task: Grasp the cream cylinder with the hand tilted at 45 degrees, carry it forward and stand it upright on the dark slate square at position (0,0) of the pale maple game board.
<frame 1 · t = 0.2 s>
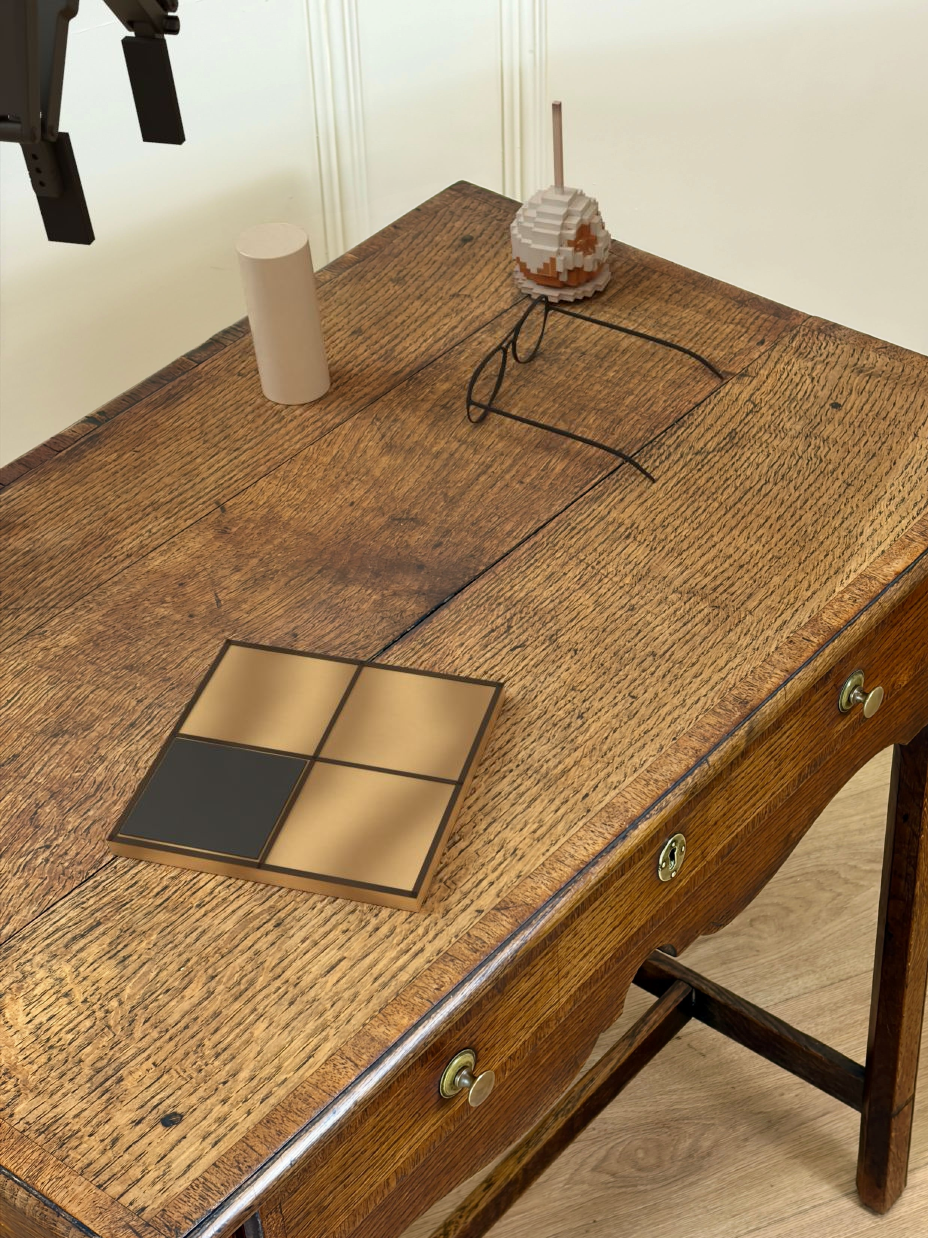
hand: (120, 189, 99), 21 cm above the table, tool pointing down, fingers open, 13 cm apart
board: (317, 773, 92), on the table
caramel apple: (562, 285, 131), on the table
glasses: (596, 409, 118), on the table
cream cylinder: (296, 386, 121), on the table
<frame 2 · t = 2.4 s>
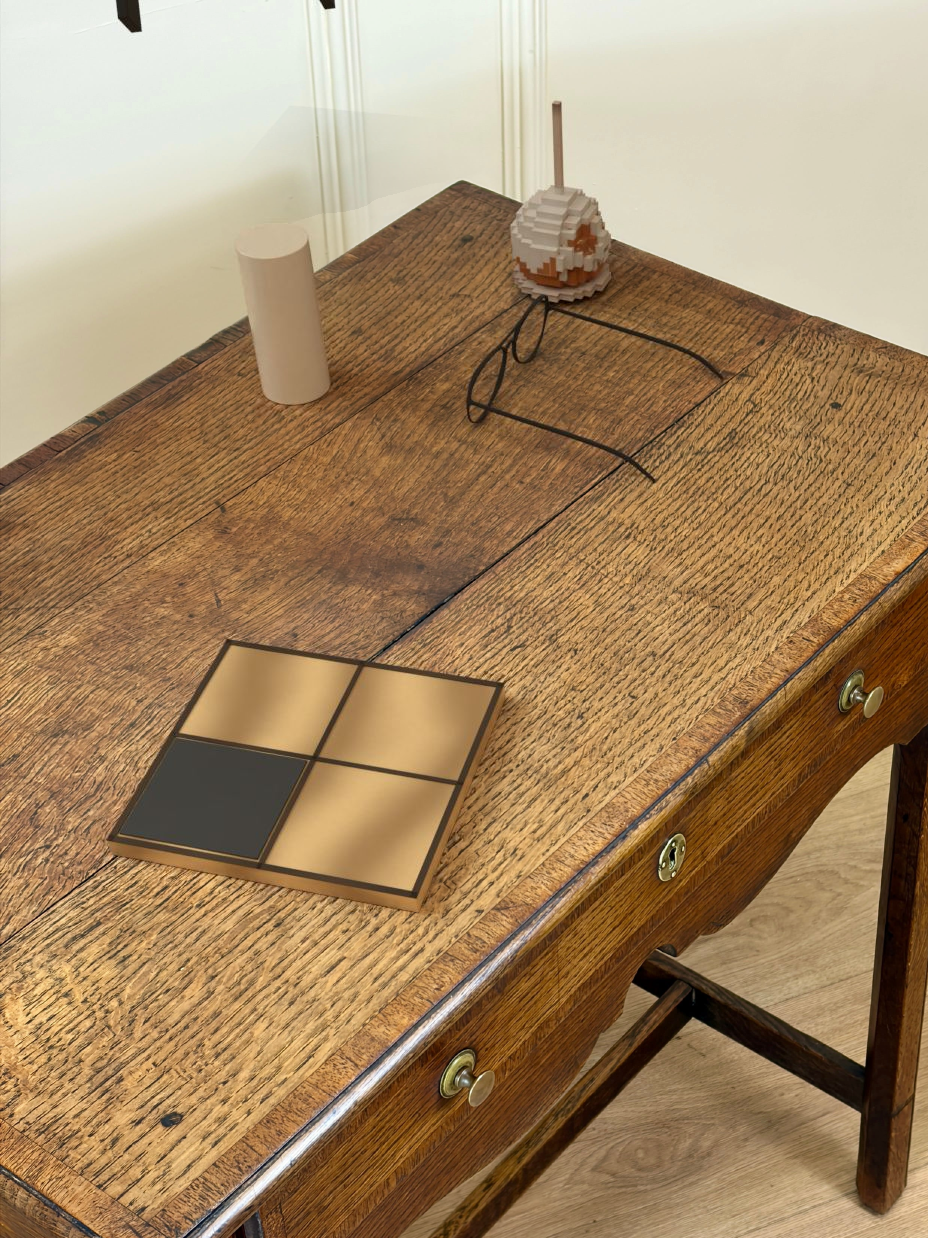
hand: (227, 14, 108), 25 cm above the table, tool tilted 40°, fingers open, 13 cm apart
nothing on the table moved.
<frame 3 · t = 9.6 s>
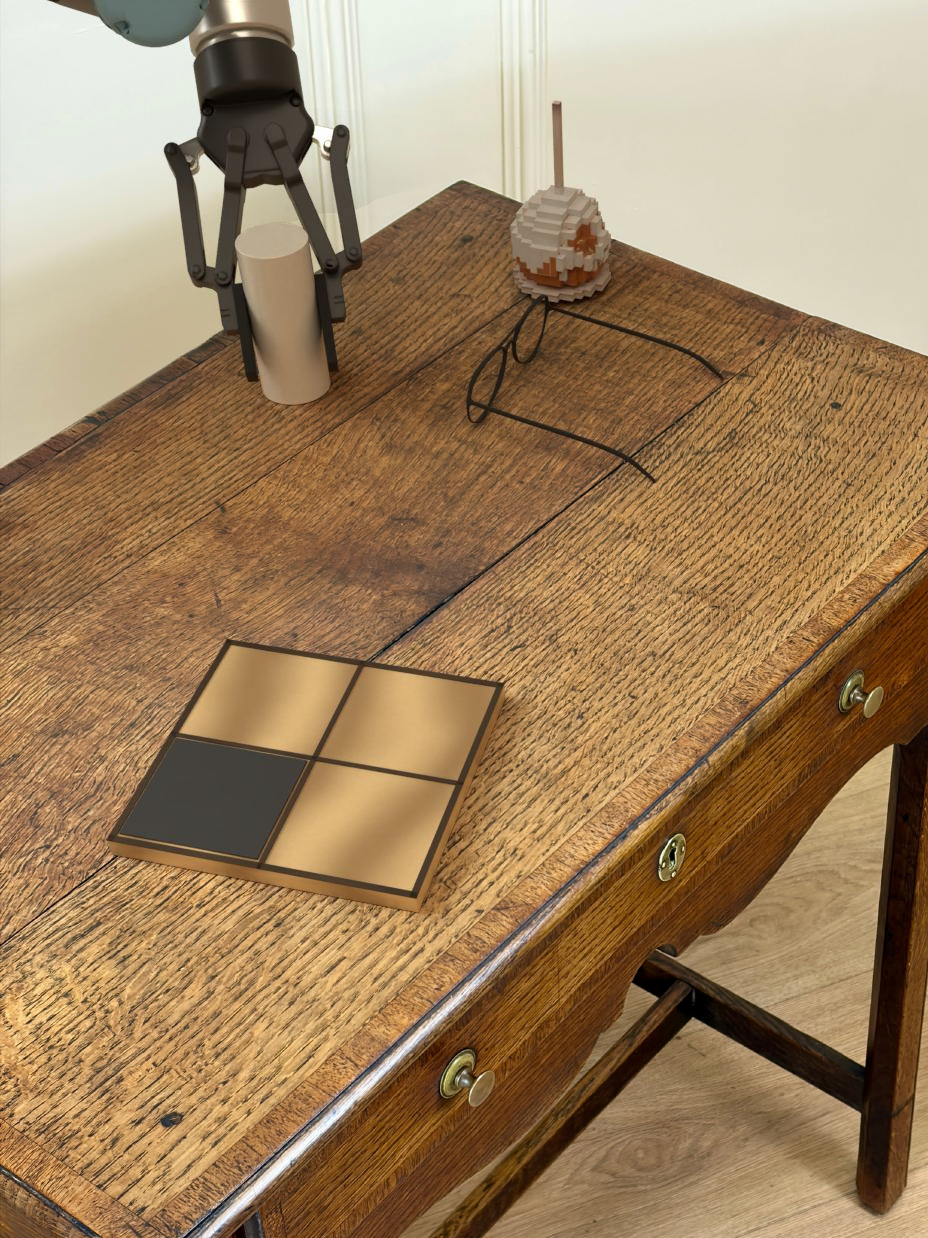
hand: (292, 372, 116), 4 cm above the table, tool tilted 45°, fingers closed on cream cylinder, 5 cm apart
cream cylinder: (296, 386, 121), on the table, touching gripper
everything else where it was.
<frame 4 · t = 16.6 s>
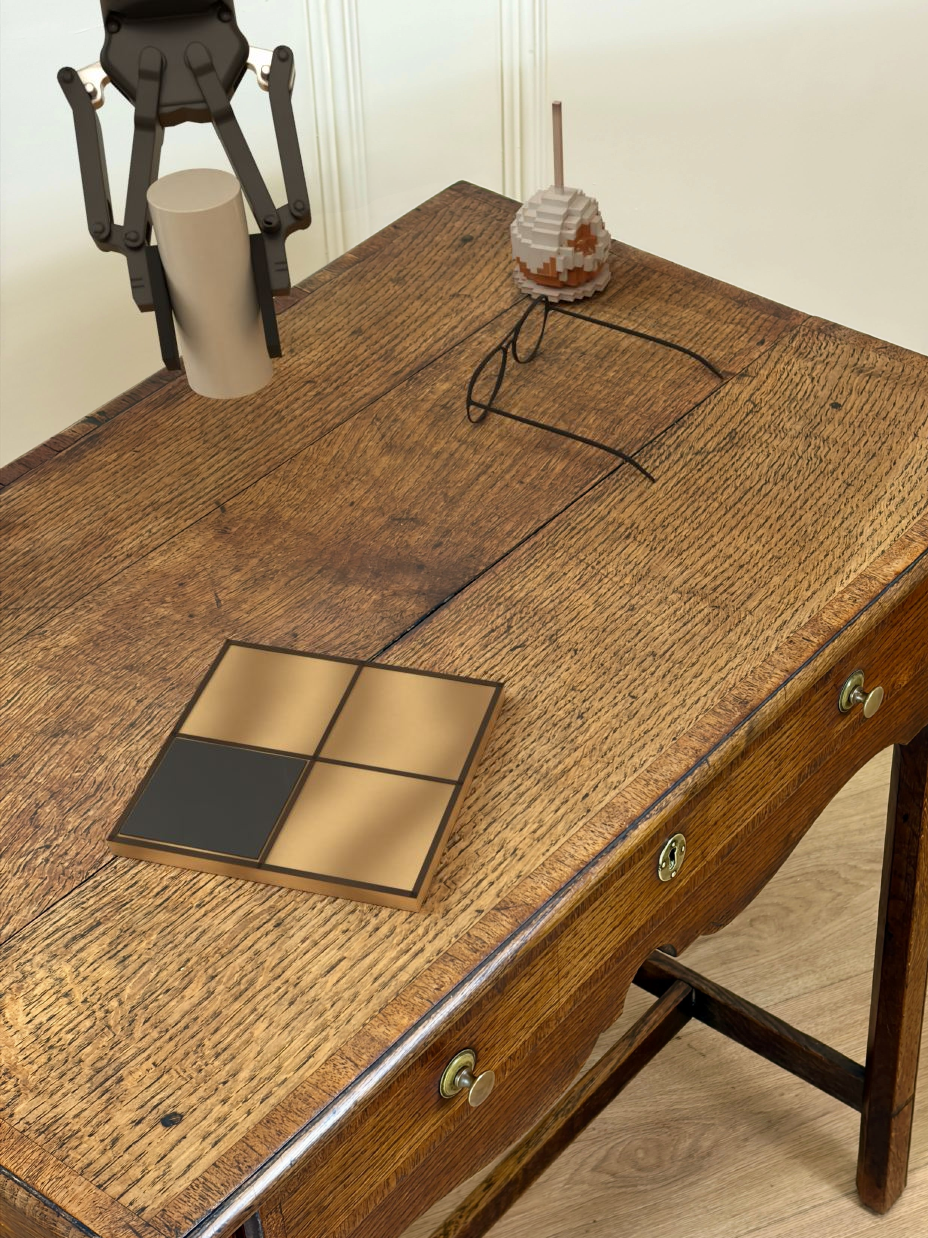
hand: (223, 357, 92), 17 cm above the table, tool tilted 45°, fingers closed on cream cylinder, 5 cm apart
cream cylinder: (231, 376, 97), point 14 cm above the table, touching gripper
everything else where it was.
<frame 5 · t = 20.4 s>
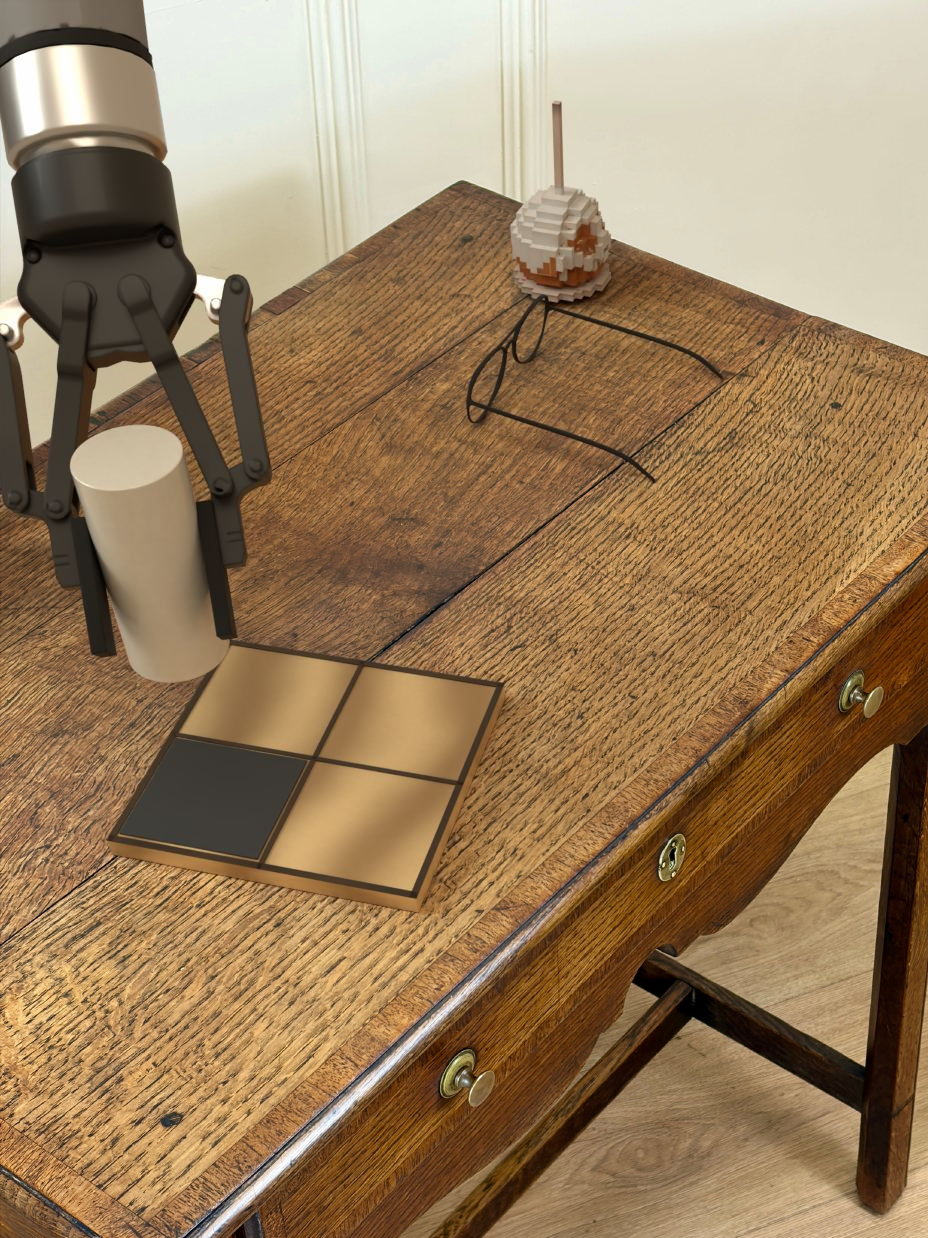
hand: (165, 645, 77), 16 cm above the table, tool tilted 45°, fingers closed on cream cylinder, 5 cm apart
cream cylinder: (179, 649, 82), point 12 cm above the table, touching gripper
everything else where it was.
when the fingers open (5 cm above the table, at t = 23.5 s): cream cylinder stays where it is, resting on board.
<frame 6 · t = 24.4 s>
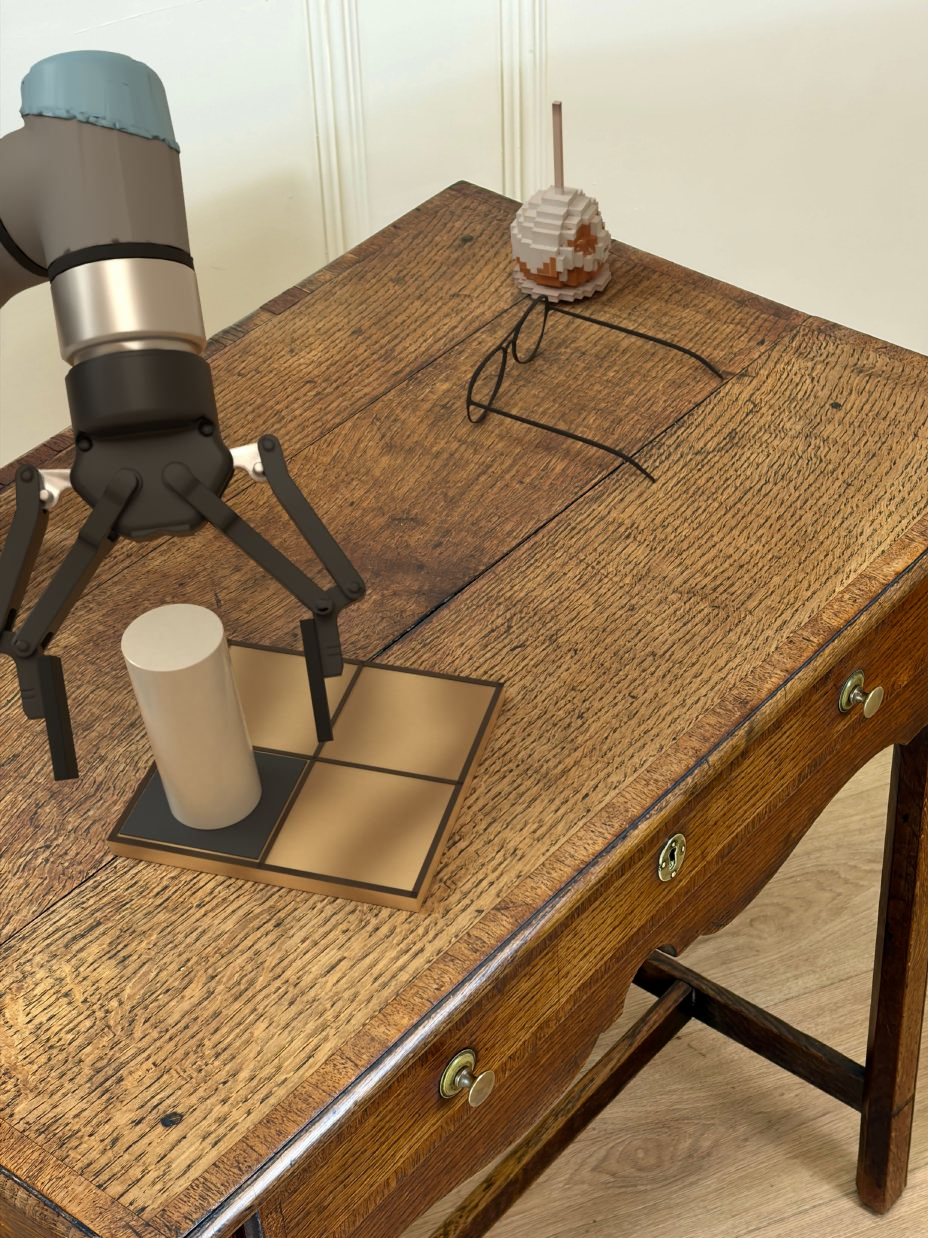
hand: (197, 761, 84), 6 cm above the table, tool tilted 45°, fingers open, 13 cm apart
cream cylinder: (215, 795, 89), point 1 cm above the table, touching board
everything else where it was.
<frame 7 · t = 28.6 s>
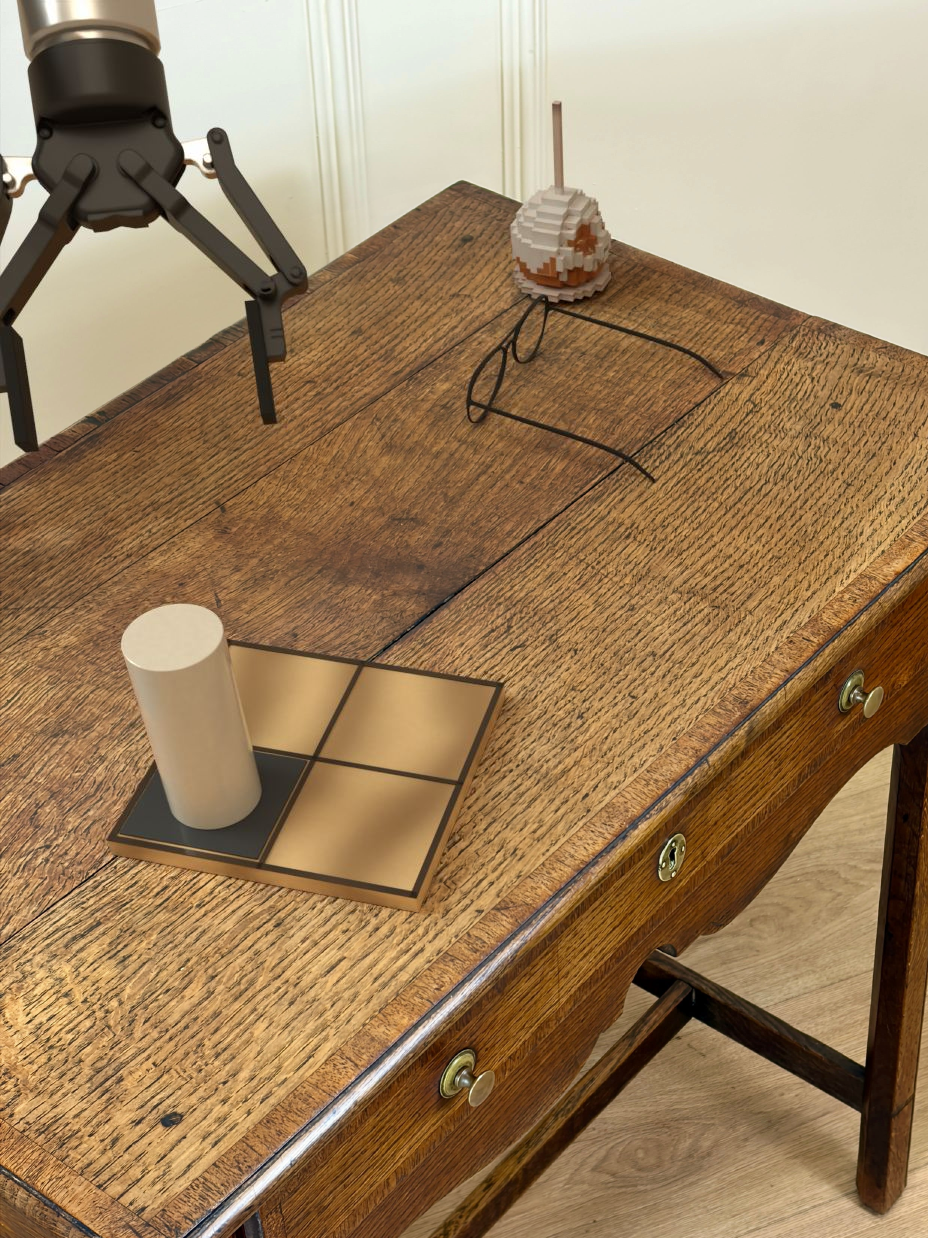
hand: (149, 434, 90), 15 cm above the table, tool tilted 45°, fingers open, 13 cm apart
nothing on the table moved.
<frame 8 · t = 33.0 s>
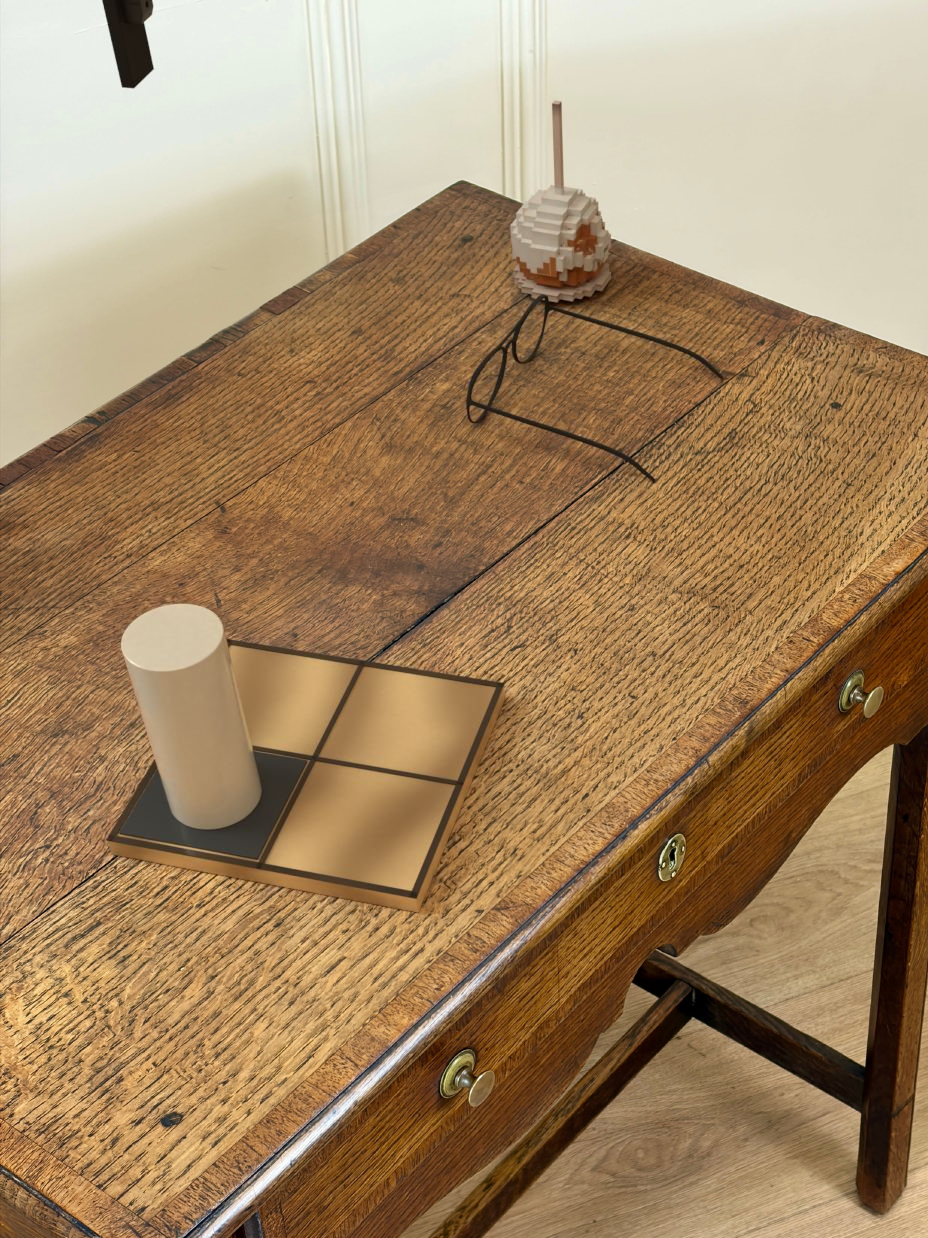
hand: (31, 69, 93), 29 cm above the table, tool pointing down, fingers open, 13 cm apart
nothing on the table moved.
at the end: cream cylinder 0.0 cm from the target spot on the board, point 1.3 cm above the board's base; cream cylinder tilted 0°; the gripper is holding nothing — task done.
